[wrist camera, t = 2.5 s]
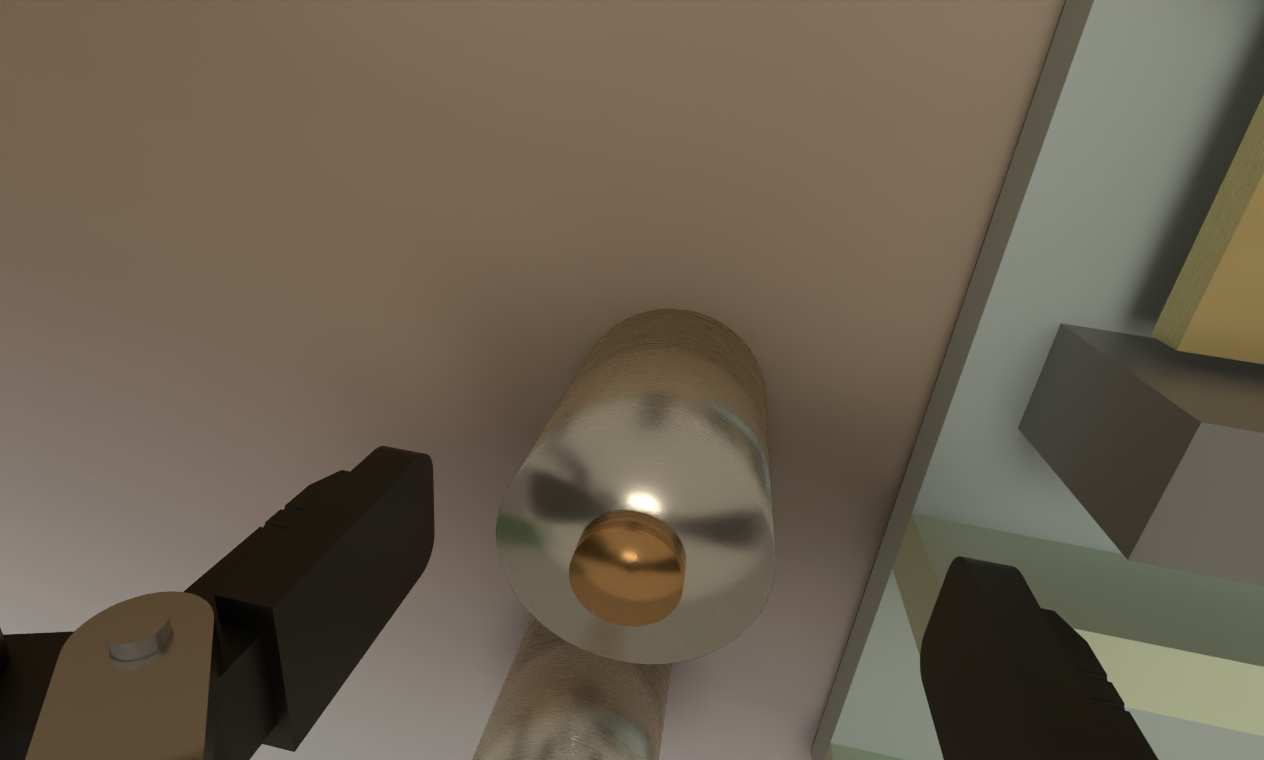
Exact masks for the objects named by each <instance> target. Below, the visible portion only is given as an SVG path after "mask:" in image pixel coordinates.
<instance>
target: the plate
mask: <svg viewBox="0 0 1264 760" xmlns="http://www.w3.org/2000/svg"><path fill="white" fill-rule="evenodd" d="M1151 336H1153V337H1154V338H1156V339H1158V340H1160V341H1161V342H1163V343H1165V344H1166V345H1168V346H1170V347H1172V348H1173V349H1175V350H1177V351H1184V352H1190V353H1196V354H1202V355H1209V356H1215V357H1221V358H1227V359H1233V360H1240V361H1246V362H1252V363H1258V364H1264V95H1263V97H1262V99H1261V101H1260V104H1259V106H1258V108H1257V110H1256V112H1255V114H1254V116H1253V118H1252V121H1251V123H1250V125H1249V127H1248V129H1247V131H1246V133H1245V135H1244V138H1243V140H1242V142H1241V144H1240V146H1239V148H1238V150H1237V152H1236V155H1235V157H1234V159H1233V161H1232V163H1231V165H1230V167H1229V169H1228V172H1227V174H1226V176H1225V178H1224V180H1223V182H1222V184H1221V186H1220V189H1219V191H1218V193H1217V195H1216V197H1215V199H1214V201H1213V204H1212V206H1211V208H1210V210H1209V212H1208V214H1207V216H1206V218H1205V221H1204V223H1203V225H1202V227H1201V229H1200V231H1199V233H1198V235H1197V238H1196V240H1195V242H1194V244H1193V246H1192V248H1191V250H1190V252H1189V255H1188V257H1187V259H1186V261H1185V263H1184V265H1183V267H1182V269H1181V272H1180V274H1179V276H1178V278H1177V280H1176V282H1175V284H1174V286H1173V289H1172V291H1171V293H1170V295H1169V297H1168V299H1167V301H1166V303H1165V306H1164V308H1163V310H1162V312H1161V314H1160V316H1159V318H1158V320H1157V323H1156V325H1155V327H1154V329H1153V331H1152V333H1151Z"/></svg>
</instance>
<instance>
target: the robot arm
mask: <svg viewBox="0 0 1264 760" xmlns="http://www.w3.org/2000/svg"><path fill="white" fill-rule="evenodd" d="M433 543H434V488H433V464H432V460H431V458H430V456H429V455H428V454H423V453H418V452H413V451H407V450H402V449H397V448H392V447H386V446H380V447H378V448H377V449H375V450H374V451H373V452H372V453H371V454H370V455H368V456H367V457H366V458H365V459H364V460H363V461H362V462H361V463H360V464H358V465H357V466H356V467H355V468H354V469H353V470H352V471H351V472H349V471H344V470H341V471H339V472H337V473H335V474H332V475H330V476H328V477H326V478H324V479H321V480H319V481H317V482H315V483H313V484H311V485H309V486H308V487H306V488H305V489H304V490H303V491H302V492H301V493H299V494H298V495H297V496H296V497H295V498H293V499H292V500H291V501H290V502H289V503H288V504H286V505H285V509H284V510H281V509H280V510H279V511H278V512H277V513H276V514H275V515H273V516H272V517H271V518H270V519H269V520H267V521H266V522H265V526H264V527H259V528H258V529H257V530H256V531H255V532H253V533H252V534H251V535H250V536H249V537H247V538H246V539H245V540H244V541H243V542H242V543H240V544H239V545H238V546H237V547H236V548H234V549H233V550H232V551H231V552H230V553H229V554H227V555H226V556H225V557H224V558H223V559H221V560H220V561H219V562H218V563H217V564H216V565H214V566H213V567H212V568H211V569H210V570H209V571H207V572H206V573H205V574H204V575H203V576H201V577H200V578H199V579H198V580H197V581H196V582H194V583H193V584H192V585H191V586H190V587H188V588H187V589H186V590H185V591H184V592H173V591H171V592H158V593H152V594H147V595H143V596H139V597H135V598H132V599H129V600H126V601H123V602H121V603H118V604H116V605H114V606H111V607H109V608H108V609H106V610H104V611H102V612H100V613H98V614H97V615H95V616H94V617H92V618H91V619H89V620H88V621H86V622H85V623H84V624H83V625H81V626H80V627H79V628H78V629H77V630H76V631H75V632H55V633H33V634H10V635H3V634H2V631H1V628H0V760H250V758H251V757H252V756H253V754H254V753H255V752H256V751H257V749H258V748H259V747H260V745H261V744H265V745H269V746H273V747H277V748H281V749H285V750H289V751H293V752H295V750H296V749H297V748H298V746H299V745H300V743H301V742H302V741H303V739H304V738H305V736H306V735H307V734H308V732H309V731H310V730H311V728H312V727H313V725H314V724H315V723H316V721H317V720H318V718H319V717H320V716H321V714H322V713H323V711H324V710H325V709H326V707H327V706H328V704H329V703H330V702H331V700H332V699H333V697H334V696H335V695H336V693H337V692H338V691H339V689H340V688H341V686H342V685H343V684H344V682H345V681H346V679H347V678H348V677H349V675H350V674H351V672H352V671H353V670H354V668H355V667H356V665H357V664H358V663H359V661H360V660H361V658H362V657H363V656H364V654H365V653H366V651H367V650H368V649H369V647H370V646H371V645H372V643H373V642H374V640H375V639H376V638H377V636H378V635H379V633H380V632H381V631H382V629H383V628H384V626H385V625H386V624H387V622H388V621H389V619H390V618H391V617H392V615H393V614H394V612H395V611H396V610H397V608H398V607H399V606H400V604H401V603H402V601H403V600H404V599H405V597H406V596H407V594H408V593H409V592H410V590H411V589H412V587H413V586H414V585H415V583H416V582H417V580H418V579H419V578H420V576H421V575H422V573H423V572H424V570H425V568H426V566H427V564H428V561H429V559H430V556H431V552H432V548H433ZM920 673H921V679H922V684H923V687H924V691H925V694H926V698H927V702H928V705H929V709H930V712H931V716H932V720H933V723H934V727H935V730H936V734H937V737H938V741H939V745H940V748H941V752H942V755H943V759H944V760H1159V759H1158V758H1157V756H1156V754H1155V753H1154V751H1153V750H1152V748H1151V746H1150V745H1149V743H1148V741H1147V740H1146V738H1145V736H1144V735H1143V733H1142V731H1141V730H1140V728H1139V726H1138V725H1137V723H1136V721H1135V720H1134V718H1133V717H1132V715H1131V713H1130V712H1129V711H1125V709H1124V705H1125V703H1124V702H1123V700H1122V698H1121V697H1120V695H1119V693H1118V692H1117V690H1116V688H1115V687H1114V685H1113V684H1112V682H1108V681H1107V676H1108V675H1107V674H1106V672H1105V670H1104V669H1103V667H1102V665H1101V664H1100V662H1099V660H1098V659H1097V657H1096V655H1095V654H1094V652H1093V651H1092V649H1091V647H1090V646H1089V644H1088V642H1087V641H1086V640H1085V639H1084V638H1083V637H1082V636H1080V635H1079V634H1078V633H1077V632H1076V631H1075V630H1074V629H1073V628H1072V627H1071V626H1070V625H1069V624H1068V623H1067V622H1066V621H1065V620H1064V619H1062V618H1061V617H1060V616H1059V615H1058V614H1057V613H1056V612H1055V611H1053V610H1048V609H1043V608H1040V606H1039V604H1038V602H1037V600H1036V599H1035V597H1034V595H1033V593H1032V591H1031V590H1030V588H1029V586H1028V584H1027V582H1026V580H1025V579H1024V577H1023V575H1022V573H1021V572H1020V571H1019V570H1018V569H1017V568H1016V567H1014V566H1009V565H1004V564H999V563H993V562H988V561H983V560H978V559H972V558H967V557H962V556H958V557H956V558H955V559H954V560H953V561H952V562H951V564H950V566H949V568H948V571H947V573H946V576H945V579H944V582H943V584H942V587H941V590H940V592H939V595H938V598H937V600H936V603H935V606H934V608H933V611H932V614H931V617H930V619H929V622H928V625H927V627H926V630H925V633H924V636H923V639H922V644H921V651H920Z"/></svg>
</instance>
